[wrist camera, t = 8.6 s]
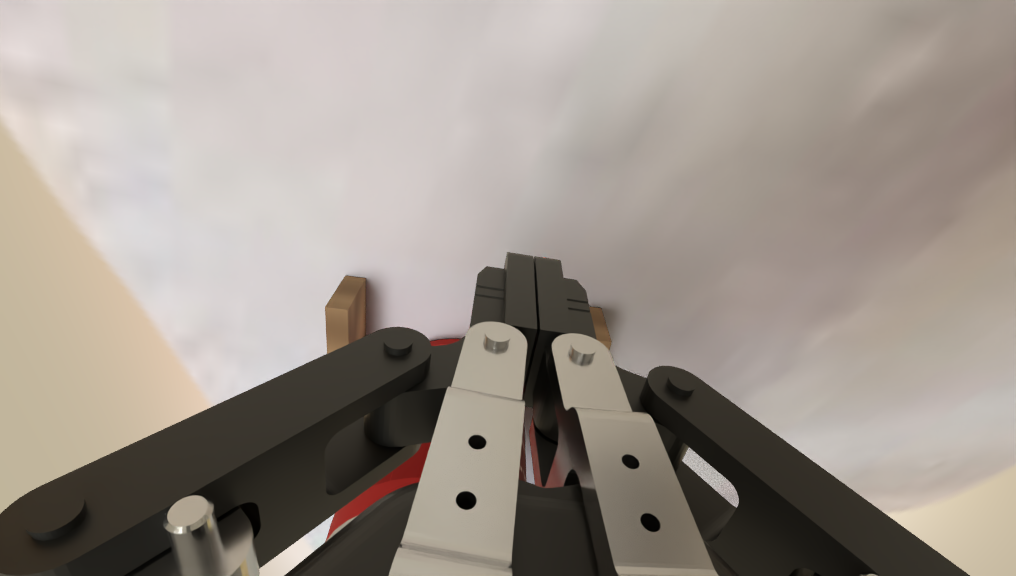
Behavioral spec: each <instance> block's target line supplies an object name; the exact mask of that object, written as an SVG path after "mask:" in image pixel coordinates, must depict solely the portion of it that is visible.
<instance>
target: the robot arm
mask: <svg viewBox="0 0 1016 576" xmlns="http://www.w3.org/2000/svg"><path fill="white" fill-rule="evenodd" d="M525 407H532V408H533V418H532V422H531V426H530V430H529V437H530V446H531V454H532V463H533V471H534V480H535V485H533V484H531V483H528V482H525V481H522V480H519V467H520V456H521V445H522V433H523V422H524V411H525ZM429 442H431V444H430V448H429V451H428V455H427V458H426V461H425V465H424V468H423V471H422V475H421V478H420V482H418V483H413V484H410V485H407V486H404V487H402V488H399V489H397V490H395V491H393V492H391V493H389V494H387V495H385V496H384V497H382V498H381V499H379V500H377V501H376V502H374V503H373V504H372V505H370V506H369V507H368V508H366V509H365V510H364V511H363V512H362V513H360V514H359V515H358V516H357V517H355V518H354V519H353V520H352V521H351V522H349V523H348V524H347V525H346V526H344V527H343V528H342V529H341V530H340V531H338V532H337V533H336V534H335V535H333V536H332V537H331V538H330V539H329V540H327V541H326V542H325V543H324V544H323V545H321V546H320V547H319V548H318V549H316V550H315V551H314V552H313V553H312V554H310V555H309V556H308V557H307V558H306V559H304V560H303V561H302V562H301V563H299V564H298V565H297V566H296V567H295V568H293V569H292V570H291V571H290V572H288V573H287V574H286V575H285V576H970V575H968V574H967V573H966V572H964V571H963V570H962V569H960V568H959V567H957V566H956V565H954V564H953V563H952V562H951V561H949V560H948V559H946V558H945V557H944V556H942V555H941V554H940V553H938V552H937V551H935V550H934V549H933V548H931V547H930V546H929V545H927V544H926V543H924V542H923V541H922V540H920V539H919V538H918V537H916V536H915V535H913V534H912V533H911V532H909V531H908V530H907V529H905V528H904V527H902V526H901V525H900V524H898V523H897V522H896V521H894V520H893V519H891V518H890V517H889V516H887V515H886V514H885V513H883V512H882V511H880V510H879V509H878V508H876V507H875V506H874V505H872V504H871V503H869V502H868V501H867V500H865V499H864V498H863V497H861V496H860V495H858V494H857V493H856V492H854V491H853V490H852V489H850V488H849V487H848V486H846V485H845V484H843V483H842V482H841V481H839V480H838V479H837V478H835V477H834V476H832V475H831V474H830V473H828V472H827V471H826V470H824V469H823V468H821V467H820V466H819V465H817V464H816V463H815V462H813V461H812V460H810V459H809V458H808V457H806V456H805V455H804V454H802V453H801V452H799V451H798V450H797V449H795V448H794V447H793V446H791V445H790V444H788V443H787V442H786V441H784V440H783V439H782V438H780V437H779V436H777V435H776V434H775V433H773V432H772V431H771V430H769V429H768V428H766V427H765V426H764V425H762V424H761V423H760V422H758V421H757V420H755V419H754V418H753V417H751V416H750V415H749V414H747V413H746V412H744V411H743V410H742V409H740V408H739V407H738V406H736V405H735V404H733V403H732V402H731V401H729V400H728V399H727V398H725V397H724V396H722V395H721V394H720V393H718V392H717V391H716V390H714V389H713V388H712V387H710V386H709V385H707V384H706V383H705V382H703V381H702V380H701V379H699V378H698V377H696V376H695V375H693V374H691V373H690V372H688V371H685V370H683V369H680V368H677V367H672V366H659V367H656V368H654V369H652V370H651V371H650V372H649V374H648V376H647V378H644V377H642V376H639V375H636V374H633V373H631V372H628V371H626V370H623V369H621V368H619V367H617V366H616V365H615V364H614V361H613V358H612V355H611V353H610V351H609V350H608V349H607V347H606V346H605V345H603V344H602V343H601V342H599V341H598V340H597V338H596V334H595V329H594V325H593V320H592V316H591V313H590V307H589V304H588V299H587V294H586V290H585V289H584V288H583V287H582V286H581V285H580V284H579V283H578V281H577V280H573V279H567V278H563V272H562V266H561V261H560V260H555V259H549V258H542V257H536V256H535V257H534V259H533V256H529V255H523V254H516V253H510V252H507V256H506V261H505V266H504V269H501V268H494V267H488V266H487V267H485V268H484V269H483V270H482V271H481V272H480V273H479V274H478V277H477V283H476V290H475V296H474V303H473V310H472V316H471V323H470V329H469V330H468V331H467V333H466V336H465V337H464V338H462V339H461V340H459V341H457V342H454V343H451V344H447V345H439V346H431V343H430V341H429V340H428V338H427V337H426V336H424V335H423V334H422V333H420V332H418V331H416V330H413V329H410V328H404V327H390V328H385V329H381V330H378V331H376V332H374V333H372V334H369V335H367V336H365V337H363V338H361V339H359V340H356V341H354V342H352V343H350V344H348V345H346V346H343V347H341V348H339V349H337V350H335V351H332V352H330V353H328V354H326V355H324V356H322V357H319V358H317V359H315V360H313V361H311V362H309V363H306V364H304V365H302V366H300V367H298V368H296V369H293V370H291V371H289V372H287V373H285V374H283V375H280V376H278V377H276V378H274V379H272V380H270V381H267V382H265V383H263V384H261V385H259V386H257V387H254V388H252V389H250V390H248V391H246V392H244V393H241V394H239V395H237V396H235V397H233V398H230V399H228V400H226V401H224V402H222V403H220V404H217V405H215V406H213V407H211V408H209V409H207V410H204V411H202V412H200V413H198V414H196V415H194V416H191V417H189V418H187V419H185V420H183V421H181V422H179V423H176V424H174V425H172V426H170V427H168V428H165V429H163V430H161V431H159V432H157V433H155V434H152V435H150V436H148V437H146V438H144V439H142V440H139V441H137V442H135V443H133V444H131V445H129V446H126V447H124V448H122V449H120V450H118V451H115V452H113V453H111V454H109V455H107V456H105V457H102V458H100V459H98V460H96V461H94V462H92V463H89V464H87V465H85V466H83V467H81V468H79V469H76V470H74V471H72V472H70V473H68V474H66V475H63V476H61V477H59V478H57V479H55V480H53V481H50V482H48V483H46V484H44V485H42V486H40V487H38V488H36V489H34V490H32V491H30V492H29V493H27V494H25V495H24V496H22V497H20V498H19V499H18V500H16V501H15V502H14V503H12V504H11V505H10V506H9V507H8V508H7V509H5V510H4V511H3V512H2V513H1V514H0V576H259V568H260V567H262V566H263V565H265V564H266V563H268V562H269V561H270V560H272V559H273V558H274V557H276V556H277V555H278V554H280V553H281V552H283V551H284V550H285V549H287V548H288V547H289V546H291V545H292V544H294V543H295V542H296V541H298V540H299V539H300V538H302V537H303V536H304V535H306V534H307V533H309V532H310V531H311V530H313V529H314V528H315V527H317V526H318V525H319V524H321V523H322V522H324V521H325V520H326V519H328V518H329V517H330V516H332V515H333V514H334V513H336V512H337V511H339V510H340V509H341V508H343V507H344V506H345V505H347V504H348V503H349V502H351V501H352V500H354V499H355V498H356V497H358V496H359V495H360V494H362V493H363V492H364V491H366V490H367V489H369V488H370V487H371V486H373V485H374V484H375V483H377V482H378V481H379V480H381V479H382V478H384V477H385V476H386V475H388V474H389V473H390V472H392V471H393V470H394V469H396V468H397V467H399V466H400V465H401V464H403V463H404V462H405V461H407V460H408V459H409V458H411V457H412V456H413V455H415V454H416V453H417V451H418V450H419V448H420V446H421V444H422V443H429ZM689 447H690V448H691V449H692V450H693V451H694V452H696V453H697V454H698V455H699V456H700V457H701V458H703V459H704V460H705V461H706V462H707V463H709V464H710V465H711V466H712V467H713V468H714V469H716V470H717V471H718V472H719V473H720V474H721V475H723V476H724V477H725V478H726V479H727V480H729V481H730V482H731V484H732V485H733V486H734V487H735V489H736V491H737V493H738V496H739V505H738V507H737V508H736V507H734V506H733V505H732V504H730V503H729V502H728V501H727V500H726V499H725V498H723V497H722V496H721V495H720V494H719V493H718V492H717V491H715V490H714V489H713V488H712V487H711V486H710V485H709V484H708V483H706V482H705V481H704V480H703V479H702V478H701V477H700V476H698V475H697V474H696V473H695V472H694V471H693V470H692V469H690V468H689V467H688V466H687V465H686V464H685V463H684V462H682V459H683V457H684V455H685V454H686V452H687V450H688V448H689Z"/></svg>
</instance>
